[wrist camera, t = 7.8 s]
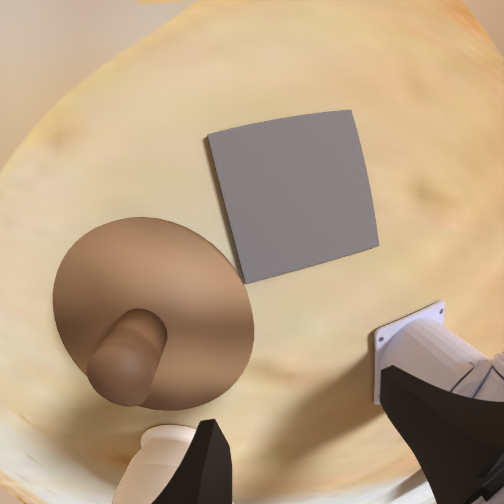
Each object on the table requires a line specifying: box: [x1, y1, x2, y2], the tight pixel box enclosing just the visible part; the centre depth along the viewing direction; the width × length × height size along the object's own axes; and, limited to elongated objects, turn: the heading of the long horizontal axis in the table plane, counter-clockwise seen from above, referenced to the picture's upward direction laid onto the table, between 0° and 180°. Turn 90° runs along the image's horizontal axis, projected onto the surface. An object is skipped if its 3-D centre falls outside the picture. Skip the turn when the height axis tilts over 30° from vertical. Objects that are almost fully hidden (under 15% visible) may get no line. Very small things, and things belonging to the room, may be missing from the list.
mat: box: [207, 110, 379, 283], centre depth 18 cm, size 10×10×1 cm
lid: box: [53, 217, 254, 410], centre depth 12 cm, size 12×12×6 cm
